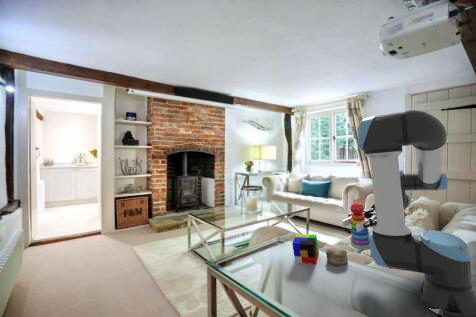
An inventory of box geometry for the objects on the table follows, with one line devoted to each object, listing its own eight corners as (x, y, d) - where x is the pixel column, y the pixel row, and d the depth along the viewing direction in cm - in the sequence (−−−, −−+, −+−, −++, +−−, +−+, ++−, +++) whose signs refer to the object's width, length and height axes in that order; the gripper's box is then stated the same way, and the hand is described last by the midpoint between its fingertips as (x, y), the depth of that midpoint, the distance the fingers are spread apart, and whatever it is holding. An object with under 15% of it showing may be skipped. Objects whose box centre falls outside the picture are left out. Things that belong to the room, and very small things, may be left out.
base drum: (352, 262, 108) (350, 254, 107) (334, 268, 106) (333, 259, 105) (339, 253, 116) (338, 246, 116) (323, 258, 115) (322, 251, 114)
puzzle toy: (295, 262, 116) (292, 243, 115) (299, 251, 125) (296, 234, 124) (316, 264, 111) (313, 244, 110) (319, 253, 120) (316, 234, 119)
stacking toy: (375, 250, 95) (369, 205, 92) (354, 251, 96) (348, 207, 94) (368, 240, 102) (363, 199, 100) (349, 241, 104) (343, 201, 102)
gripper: (408, 222, 98) (373, 242, 88) (365, 212, 115) (332, 228, 105) (406, 205, 97) (370, 223, 87) (363, 197, 114) (330, 212, 104)
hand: (349, 226), depth 96 cm, fingers closed on stacking toy, 6 cm apart
